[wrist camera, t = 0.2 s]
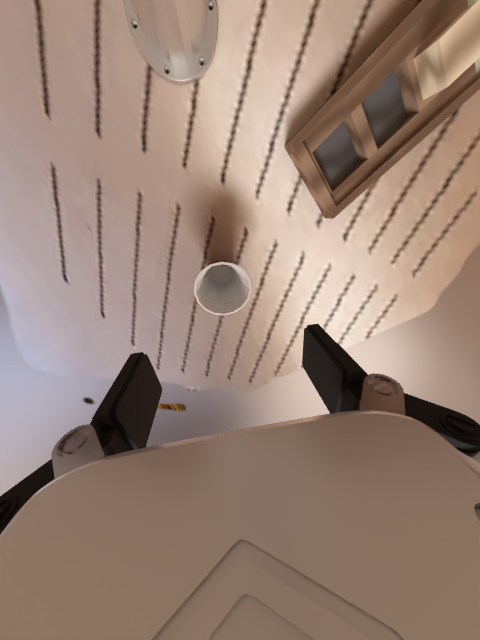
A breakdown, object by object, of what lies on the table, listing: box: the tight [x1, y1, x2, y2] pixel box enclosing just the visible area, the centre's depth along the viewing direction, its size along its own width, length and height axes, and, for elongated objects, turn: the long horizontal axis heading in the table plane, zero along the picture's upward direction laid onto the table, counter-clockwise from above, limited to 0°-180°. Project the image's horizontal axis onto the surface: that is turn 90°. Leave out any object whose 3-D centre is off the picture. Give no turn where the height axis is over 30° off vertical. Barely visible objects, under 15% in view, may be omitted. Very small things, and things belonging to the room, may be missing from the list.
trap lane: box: [285, 0, 480, 218], centre depth 32 cm, size 16×40×6 cm, turn 132°
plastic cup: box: [194, 261, 252, 315], centre depth 41 cm, size 11×11×12 cm
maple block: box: [414, 0, 480, 100], centre depth 30 cm, size 6×6×4 cm
